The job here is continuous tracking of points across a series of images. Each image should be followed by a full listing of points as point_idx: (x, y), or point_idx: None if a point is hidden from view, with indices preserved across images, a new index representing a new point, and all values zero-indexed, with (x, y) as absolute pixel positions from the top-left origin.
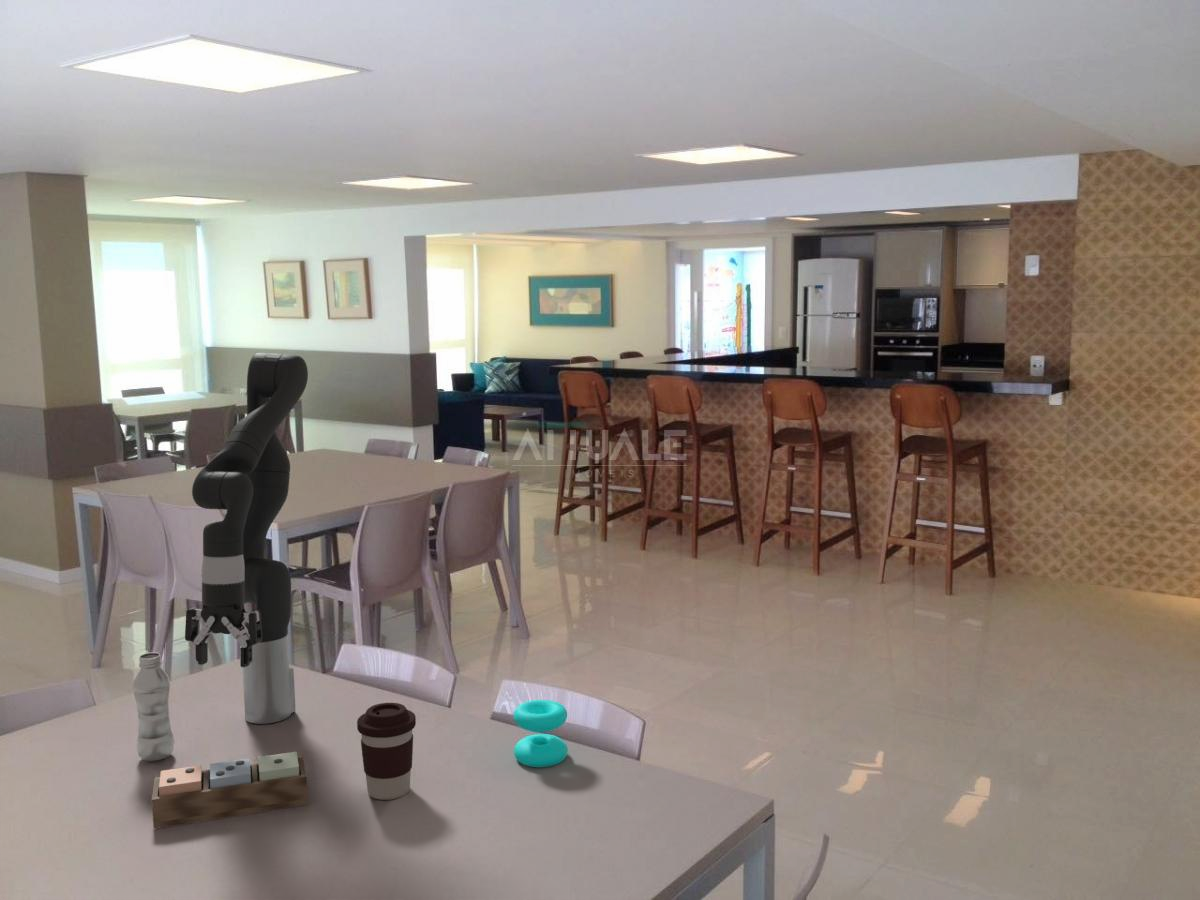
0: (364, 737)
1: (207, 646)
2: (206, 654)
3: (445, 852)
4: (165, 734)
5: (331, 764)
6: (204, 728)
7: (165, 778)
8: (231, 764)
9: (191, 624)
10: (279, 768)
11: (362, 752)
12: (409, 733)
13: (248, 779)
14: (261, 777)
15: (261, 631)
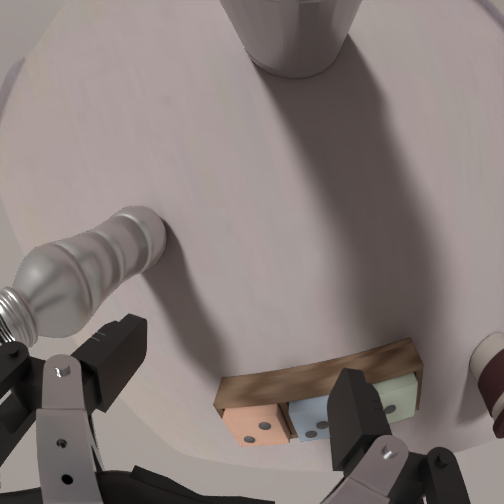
0: (494, 420)
1: (107, 355)
2: (128, 342)
3: (481, 424)
4: (145, 262)
5: (448, 280)
6: (178, 98)
7: (239, 434)
8: (322, 416)
9: (6, 457)
10: (389, 422)
11: (486, 400)
12: None
13: None
14: None
15: (461, 495)
